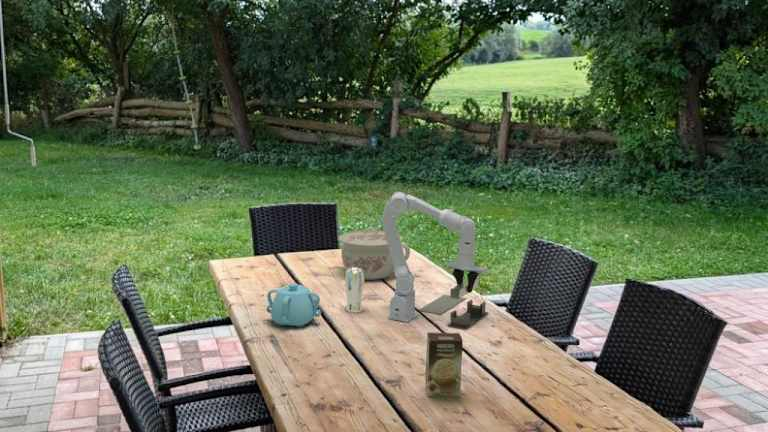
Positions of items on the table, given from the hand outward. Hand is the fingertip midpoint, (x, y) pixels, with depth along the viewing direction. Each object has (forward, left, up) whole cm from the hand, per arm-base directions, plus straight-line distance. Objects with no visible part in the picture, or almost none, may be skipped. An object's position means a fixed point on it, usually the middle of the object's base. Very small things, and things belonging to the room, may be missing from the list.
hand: (465, 291), depth 266 cm
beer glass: (-12, +38, -10) cm, 41 cm away
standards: (-1, -2, -10) cm, 10 cm away
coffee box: (-60, -20, -10) cm, 64 cm away
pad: (+10, +13, -10) cm, 19 cm away
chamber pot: (+30, +56, -10) cm, 64 cm away
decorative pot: (-34, +49, -10) cm, 61 cm away
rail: (0, 0, 0) cm, 0 cm away
